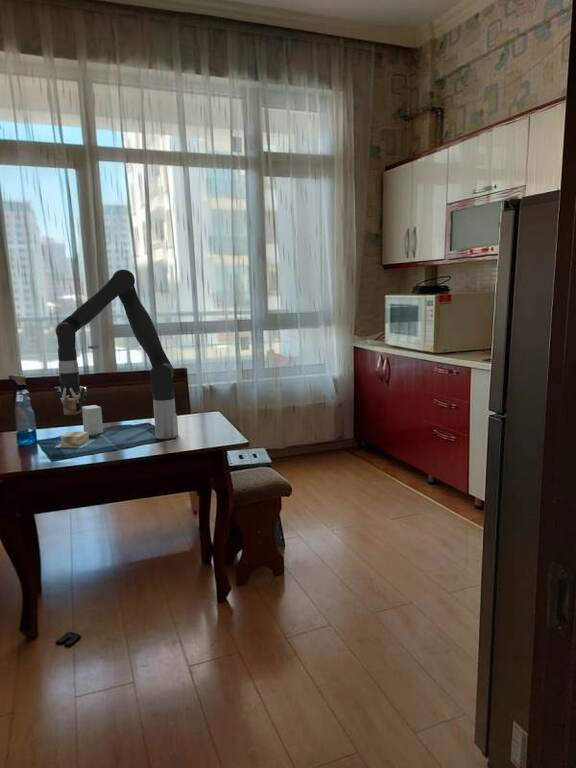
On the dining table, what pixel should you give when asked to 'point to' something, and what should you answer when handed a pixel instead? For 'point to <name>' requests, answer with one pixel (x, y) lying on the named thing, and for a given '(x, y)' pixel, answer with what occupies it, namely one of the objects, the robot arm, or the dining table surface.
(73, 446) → the board
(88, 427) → the small box
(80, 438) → the beech block
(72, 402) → the walnut block
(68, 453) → the dining table surface
